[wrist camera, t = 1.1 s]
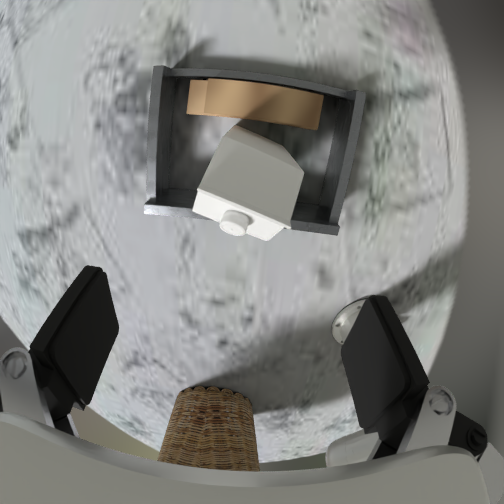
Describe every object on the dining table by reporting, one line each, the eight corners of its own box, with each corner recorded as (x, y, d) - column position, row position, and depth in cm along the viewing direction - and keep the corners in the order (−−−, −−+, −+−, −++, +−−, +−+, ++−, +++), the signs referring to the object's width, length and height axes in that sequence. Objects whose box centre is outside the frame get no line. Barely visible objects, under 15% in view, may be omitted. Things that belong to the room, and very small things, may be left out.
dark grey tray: (349, 94, 30) (369, 92, 24) (324, 214, 39) (337, 235, 33) (168, 71, 28) (150, 64, 22) (161, 195, 37) (144, 213, 31)
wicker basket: (133, 394, 67) (109, 490, 38) (202, 351, 55) (182, 502, 26) (221, 433, 79) (216, 515, 51) (302, 403, 67) (313, 510, 38)
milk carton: (235, 124, 33) (216, 141, 16) (284, 146, 34) (315, 185, 18) (214, 171, 36) (181, 232, 19) (261, 191, 37) (269, 266, 21)
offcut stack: (318, 97, 31) (329, 96, 26) (313, 129, 33) (322, 133, 28) (196, 80, 30) (187, 76, 25) (192, 113, 32) (182, 114, 27)
